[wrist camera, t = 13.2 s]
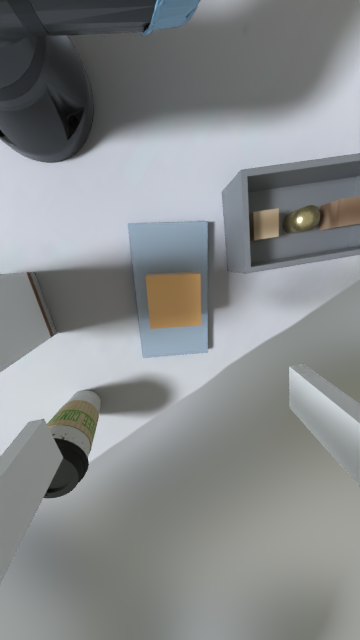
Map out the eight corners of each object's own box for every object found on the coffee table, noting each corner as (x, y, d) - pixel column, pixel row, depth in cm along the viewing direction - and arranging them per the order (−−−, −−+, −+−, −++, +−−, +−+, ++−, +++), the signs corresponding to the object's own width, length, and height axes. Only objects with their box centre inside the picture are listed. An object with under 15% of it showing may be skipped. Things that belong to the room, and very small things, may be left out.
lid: (143, 353, 40) (139, 375, 32) (129, 225, 32) (120, 214, 25) (205, 348, 41) (215, 368, 33) (204, 223, 34) (218, 212, 26)
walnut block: (320, 206, 33) (340, 198, 30) (341, 202, 34) (365, 195, 30) (318, 230, 35) (338, 226, 31) (339, 227, 35) (361, 223, 31)
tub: (221, 191, 32) (241, 170, 24) (356, 172, 33) (415, 145, 25) (227, 271, 36) (245, 273, 28) (348, 251, 37) (396, 248, 29)
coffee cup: (115, 389, 41) (91, 458, 27) (103, 425, 43) (74, 505, 29) (67, 377, 39) (14, 444, 25) (57, 415, 41) (2, 496, 27)
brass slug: (282, 213, 33) (298, 206, 29) (302, 210, 33) (321, 203, 29) (282, 235, 34) (297, 232, 30) (301, 232, 34) (319, 228, 31)
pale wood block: (242, 217, 33) (253, 212, 29) (265, 214, 33) (278, 208, 29) (243, 242, 34) (254, 240, 30) (265, 239, 34) (278, 236, 30)
